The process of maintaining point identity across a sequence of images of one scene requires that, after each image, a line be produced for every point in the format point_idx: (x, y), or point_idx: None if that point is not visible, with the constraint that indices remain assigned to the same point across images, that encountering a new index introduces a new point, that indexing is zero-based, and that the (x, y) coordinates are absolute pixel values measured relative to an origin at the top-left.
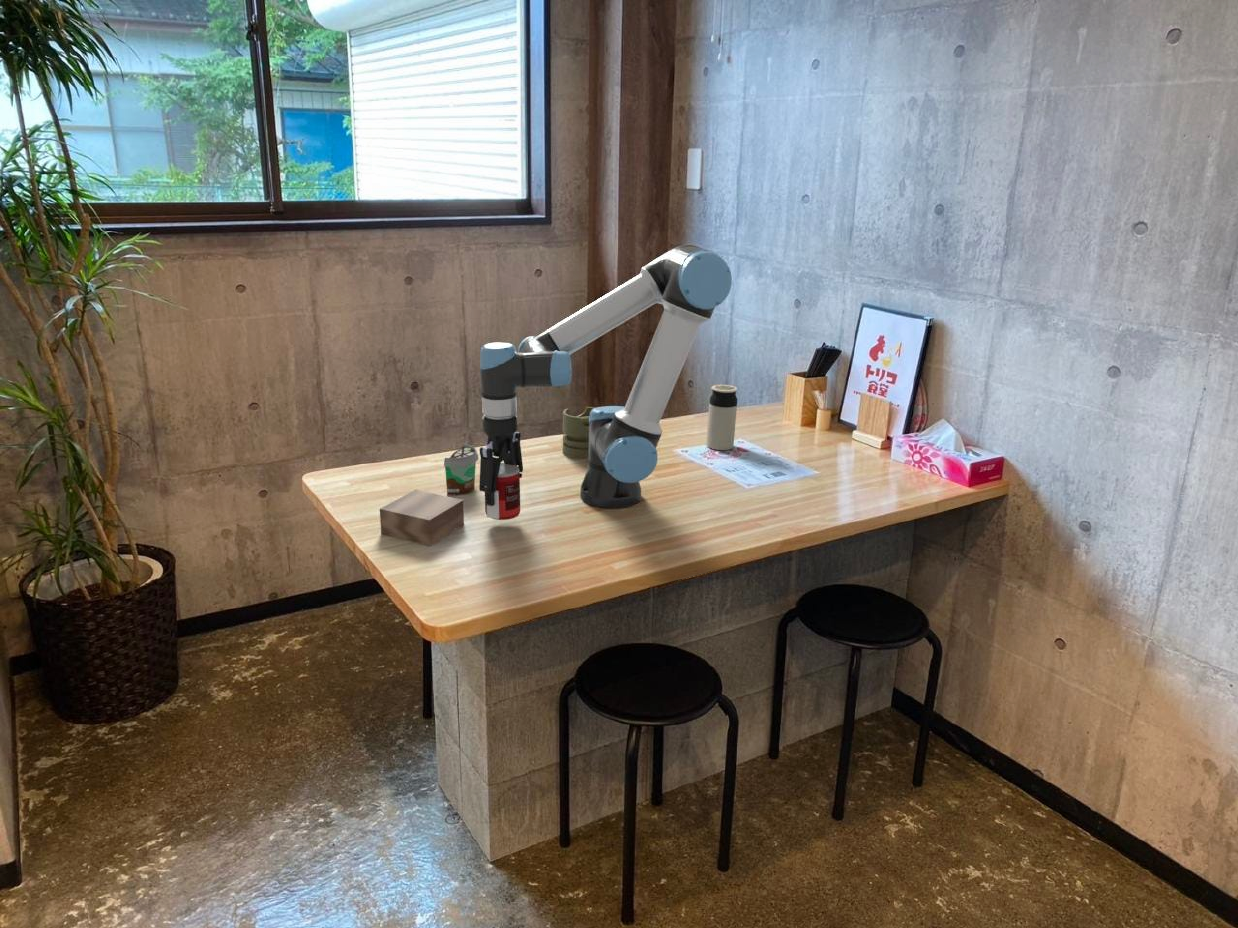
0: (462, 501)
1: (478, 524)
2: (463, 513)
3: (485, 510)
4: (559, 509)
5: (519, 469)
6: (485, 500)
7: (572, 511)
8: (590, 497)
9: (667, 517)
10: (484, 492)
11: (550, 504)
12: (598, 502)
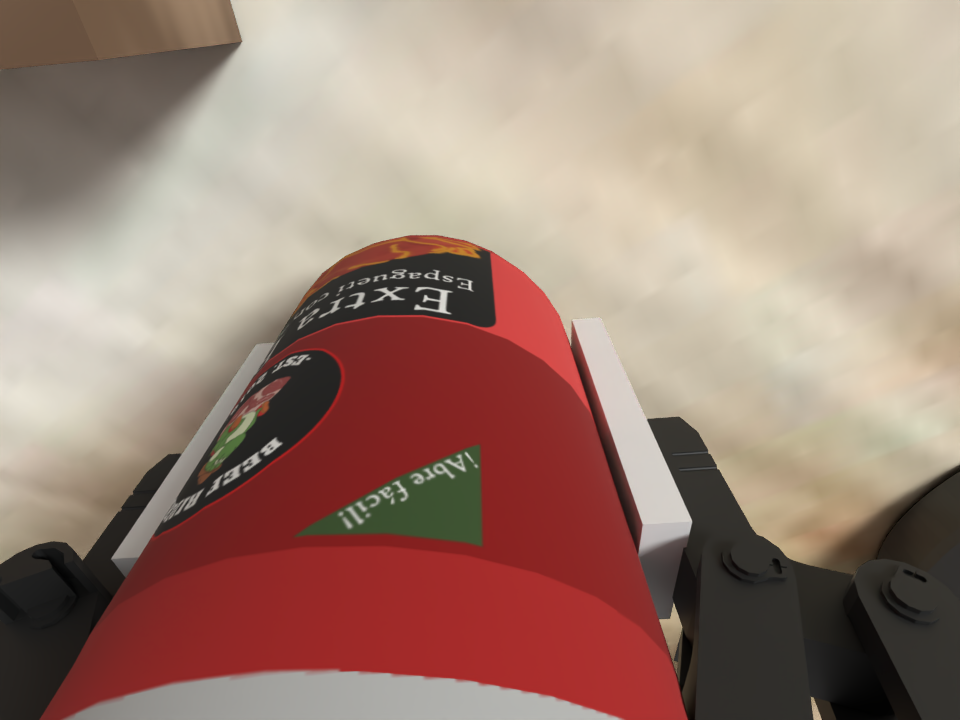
0: (83, 60)
1: (334, 156)
2: (190, 47)
3: (314, 284)
4: (811, 429)
5: (819, 702)
6: (264, 360)
7: (798, 483)
8: (941, 541)
9: None
10: (252, 386)
11: (884, 359)
12: (900, 559)
